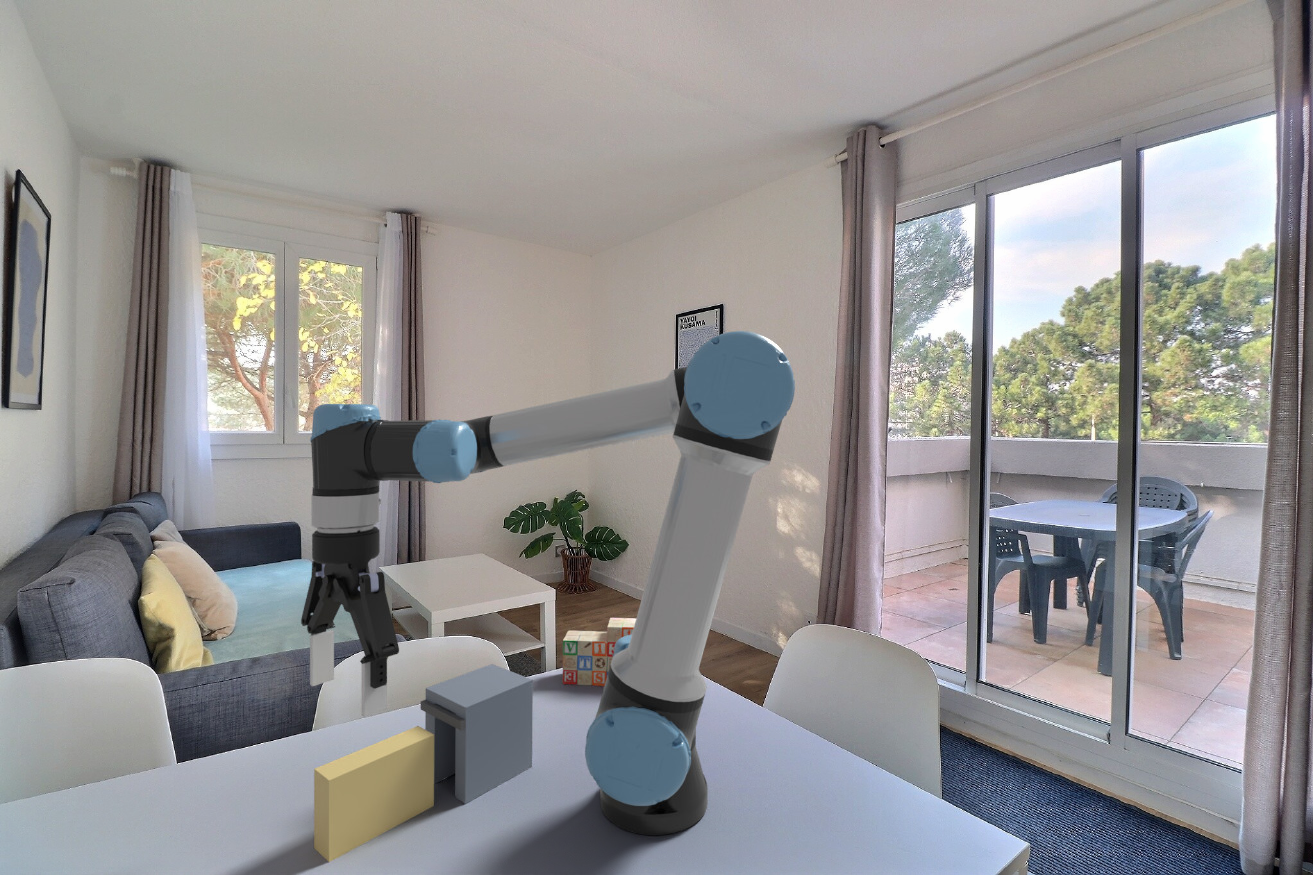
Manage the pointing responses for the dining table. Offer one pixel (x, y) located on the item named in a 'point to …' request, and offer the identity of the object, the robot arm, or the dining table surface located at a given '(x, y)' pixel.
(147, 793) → the dining table surface
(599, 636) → the stack of blocks
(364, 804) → the upright yellow slab
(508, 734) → the dispenser
